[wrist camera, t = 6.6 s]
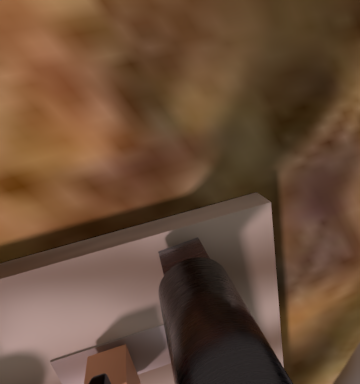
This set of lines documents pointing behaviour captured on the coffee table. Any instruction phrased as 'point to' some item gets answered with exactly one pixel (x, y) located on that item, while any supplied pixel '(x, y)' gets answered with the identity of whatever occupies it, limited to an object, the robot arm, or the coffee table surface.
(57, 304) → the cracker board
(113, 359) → the terracotta cube
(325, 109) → the coffee table surface
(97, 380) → the robot arm
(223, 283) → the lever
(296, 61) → the coffee table surface
